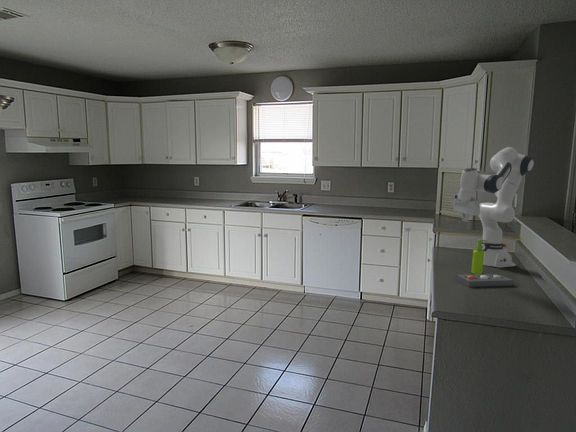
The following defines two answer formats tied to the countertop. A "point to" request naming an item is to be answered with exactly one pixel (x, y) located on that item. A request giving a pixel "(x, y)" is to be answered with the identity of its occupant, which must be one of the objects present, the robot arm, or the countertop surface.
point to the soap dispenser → (478, 258)
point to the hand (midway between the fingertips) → (465, 221)
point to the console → (484, 280)
